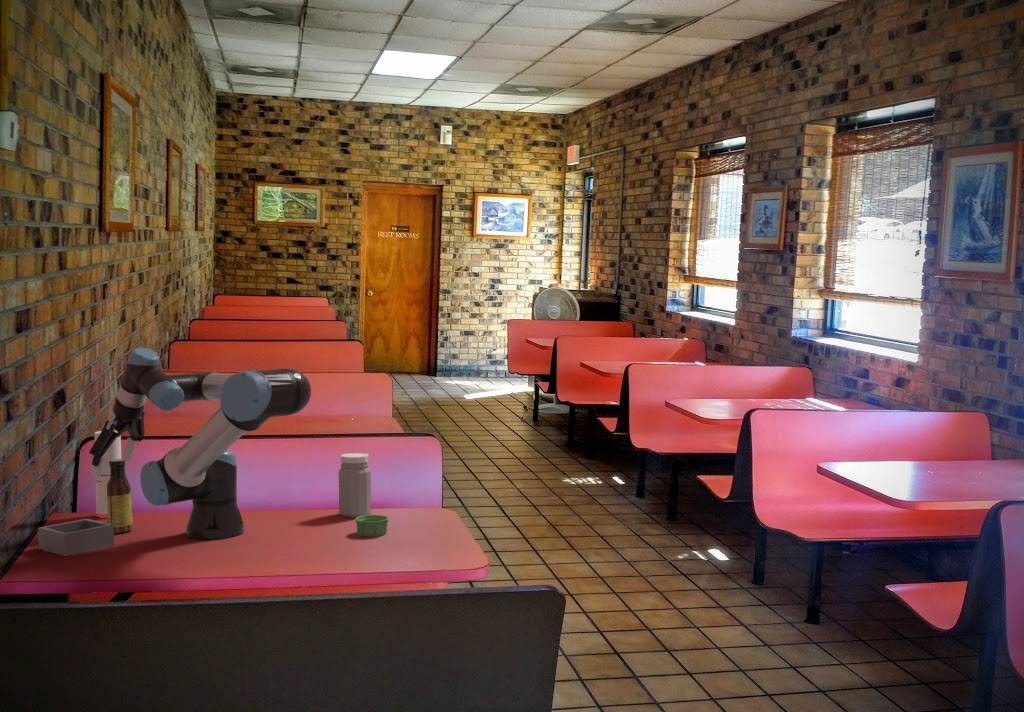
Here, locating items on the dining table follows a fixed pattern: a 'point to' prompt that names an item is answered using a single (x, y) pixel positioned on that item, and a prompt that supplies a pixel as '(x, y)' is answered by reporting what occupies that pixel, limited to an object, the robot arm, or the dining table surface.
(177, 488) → the robot arm
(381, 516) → the ramekin
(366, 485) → the jar
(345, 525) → the dining table surface
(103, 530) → the grey open box
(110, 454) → the cylindrical container
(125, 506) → the sauce bottle
